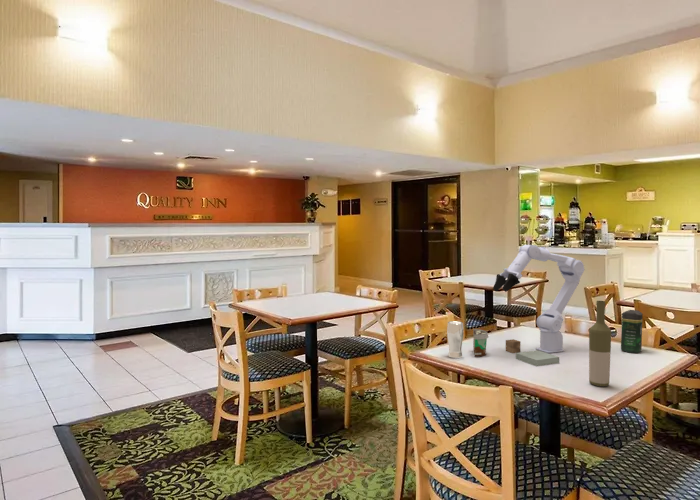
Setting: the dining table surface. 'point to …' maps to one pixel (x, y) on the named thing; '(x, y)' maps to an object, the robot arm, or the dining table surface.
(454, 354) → the beer glass
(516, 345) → the walnut block
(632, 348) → the coffee jar
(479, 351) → the food container
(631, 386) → the dining table surface
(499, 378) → the dining table surface
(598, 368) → the bottle
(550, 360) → the grey platform
